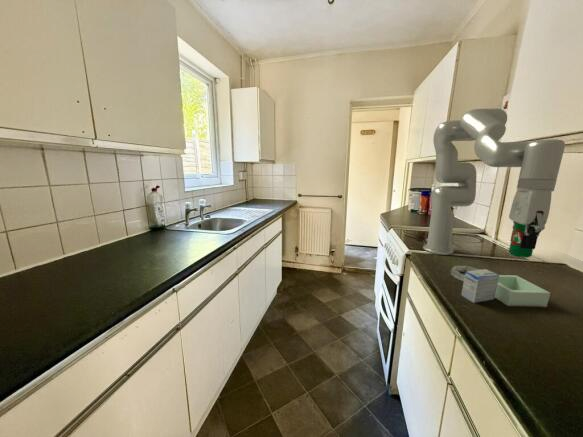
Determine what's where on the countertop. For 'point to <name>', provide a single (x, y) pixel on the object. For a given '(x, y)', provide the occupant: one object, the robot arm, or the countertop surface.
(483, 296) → the medicine box
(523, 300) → the bin
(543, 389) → the countertop surface
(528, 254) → the soda can
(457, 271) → the collar
